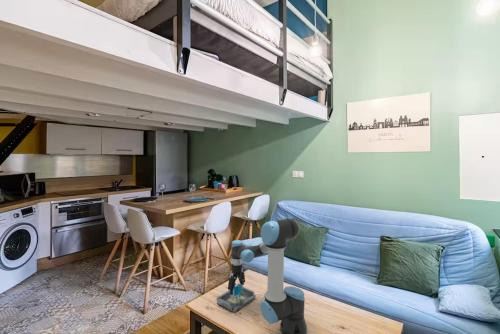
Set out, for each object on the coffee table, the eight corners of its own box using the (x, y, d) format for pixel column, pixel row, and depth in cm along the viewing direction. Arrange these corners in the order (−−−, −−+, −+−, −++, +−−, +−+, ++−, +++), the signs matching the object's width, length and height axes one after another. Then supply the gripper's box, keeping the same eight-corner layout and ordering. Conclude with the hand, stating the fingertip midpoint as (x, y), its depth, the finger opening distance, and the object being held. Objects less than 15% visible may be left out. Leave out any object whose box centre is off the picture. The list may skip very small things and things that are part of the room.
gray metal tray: (256, 298, 175) (256, 292, 175) (234, 314, 157) (234, 307, 157) (238, 290, 185) (238, 284, 185) (215, 303, 167) (215, 298, 167)
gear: (226, 295, 169) (232, 280, 175) (228, 297, 174) (234, 283, 179) (240, 301, 165) (246, 286, 171) (242, 303, 169) (248, 289, 175)
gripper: (242, 257, 180) (242, 288, 181) (222, 266, 164) (222, 300, 165) (250, 260, 176) (250, 291, 177) (230, 270, 160) (230, 305, 161)
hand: (236, 296), depth 171 cm, fingers closed on gear, 8 cm apart
